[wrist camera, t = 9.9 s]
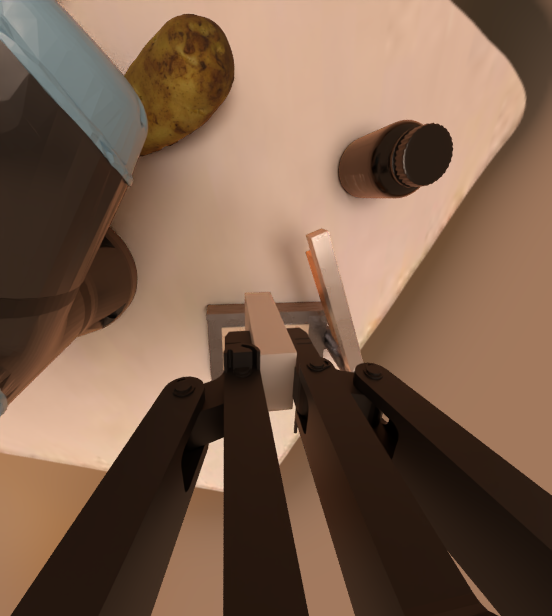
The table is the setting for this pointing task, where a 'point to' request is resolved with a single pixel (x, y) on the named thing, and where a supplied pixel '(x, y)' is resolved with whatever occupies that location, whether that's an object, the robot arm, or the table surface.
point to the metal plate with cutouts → (233, 319)
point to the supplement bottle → (395, 160)
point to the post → (334, 349)
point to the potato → (181, 78)
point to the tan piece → (333, 296)
